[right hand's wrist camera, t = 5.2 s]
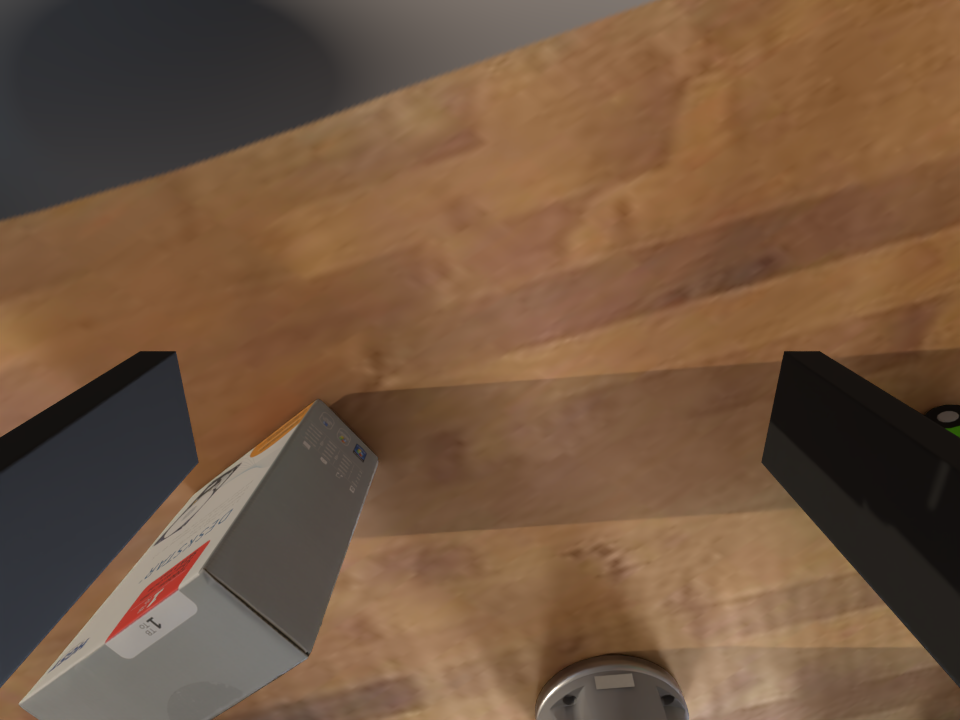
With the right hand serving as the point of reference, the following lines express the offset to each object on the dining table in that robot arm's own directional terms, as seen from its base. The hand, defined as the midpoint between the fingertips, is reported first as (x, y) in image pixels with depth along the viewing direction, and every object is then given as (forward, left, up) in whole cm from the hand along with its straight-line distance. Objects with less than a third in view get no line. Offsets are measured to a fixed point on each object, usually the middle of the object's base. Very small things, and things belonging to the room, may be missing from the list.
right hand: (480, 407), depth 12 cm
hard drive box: (-21, +17, -30) cm, 41 cm away
